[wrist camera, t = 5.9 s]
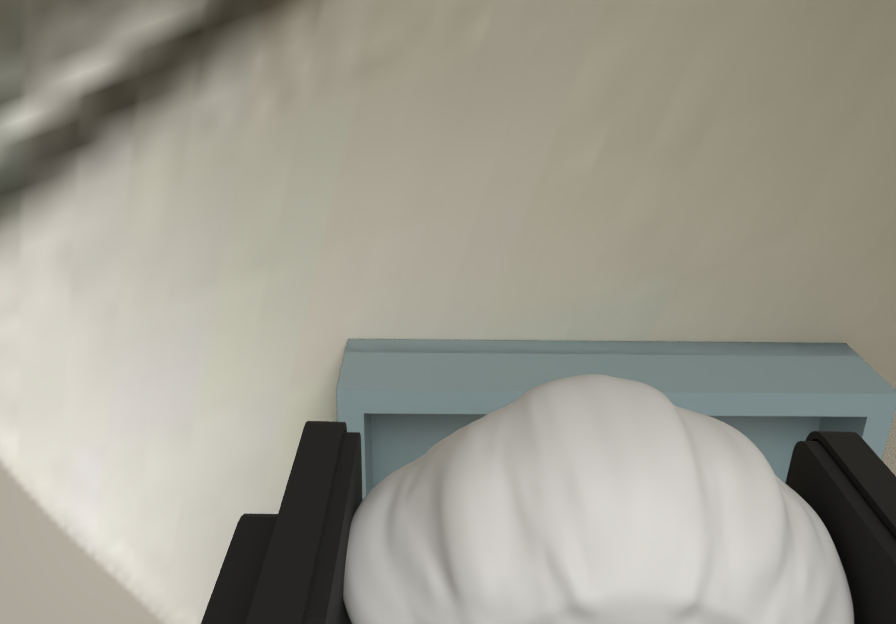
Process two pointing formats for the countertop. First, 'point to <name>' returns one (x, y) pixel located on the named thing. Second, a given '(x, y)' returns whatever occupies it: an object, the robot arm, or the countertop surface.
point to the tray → (653, 363)
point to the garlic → (591, 522)
